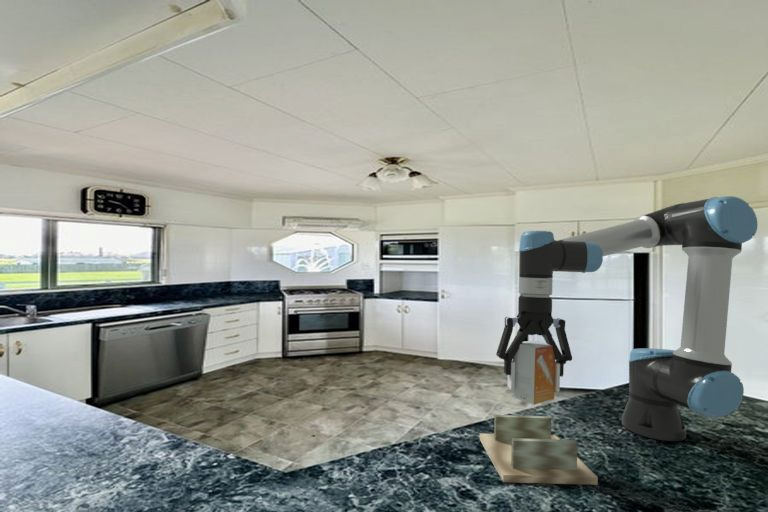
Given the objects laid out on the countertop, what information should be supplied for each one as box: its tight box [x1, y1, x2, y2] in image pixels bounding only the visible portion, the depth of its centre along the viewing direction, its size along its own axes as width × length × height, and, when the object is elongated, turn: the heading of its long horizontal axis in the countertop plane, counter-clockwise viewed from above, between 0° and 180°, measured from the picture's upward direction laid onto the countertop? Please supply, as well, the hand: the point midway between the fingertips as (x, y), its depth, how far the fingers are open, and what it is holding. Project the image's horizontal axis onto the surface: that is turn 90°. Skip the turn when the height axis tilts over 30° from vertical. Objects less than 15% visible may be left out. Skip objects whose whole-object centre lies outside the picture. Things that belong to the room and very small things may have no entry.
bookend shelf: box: [479, 414, 599, 486], centre depth 91 cm, size 20×20×8 cm
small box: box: [511, 339, 556, 405], centre depth 92 cm, size 8×6×13 cm
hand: (533, 389), depth 92 cm, fingers closed on small box, 10 cm apart
